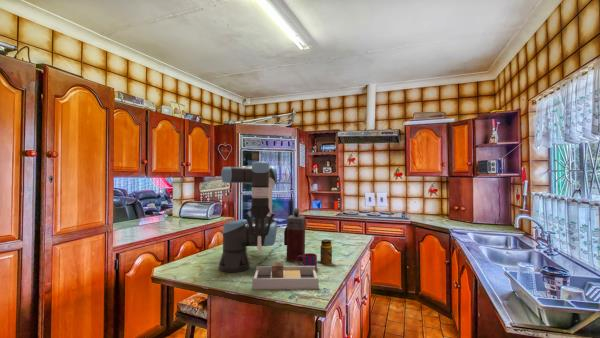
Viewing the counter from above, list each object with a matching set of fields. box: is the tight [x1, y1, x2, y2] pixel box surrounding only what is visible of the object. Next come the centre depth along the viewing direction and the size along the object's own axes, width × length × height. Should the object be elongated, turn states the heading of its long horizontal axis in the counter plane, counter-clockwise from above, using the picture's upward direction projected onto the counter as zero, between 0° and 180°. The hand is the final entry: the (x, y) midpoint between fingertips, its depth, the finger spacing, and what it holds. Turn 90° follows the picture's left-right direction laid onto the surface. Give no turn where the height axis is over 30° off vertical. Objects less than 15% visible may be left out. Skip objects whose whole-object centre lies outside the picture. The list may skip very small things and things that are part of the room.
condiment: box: [317, 239, 335, 267], centre depth 146 cm, size 7×8×12 cm
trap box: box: [251, 265, 320, 290], centre depth 121 cm, size 27×16×4 cm, turn 93°
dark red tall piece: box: [283, 207, 306, 263], centre depth 154 cm, size 9×11×28 cm
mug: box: [296, 252, 318, 271], centre depth 138 cm, size 7×10×7 cm
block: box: [271, 261, 285, 278], centre depth 121 cm, size 5×5×5 cm
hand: (259, 251), depth 120 cm, fingers closed
